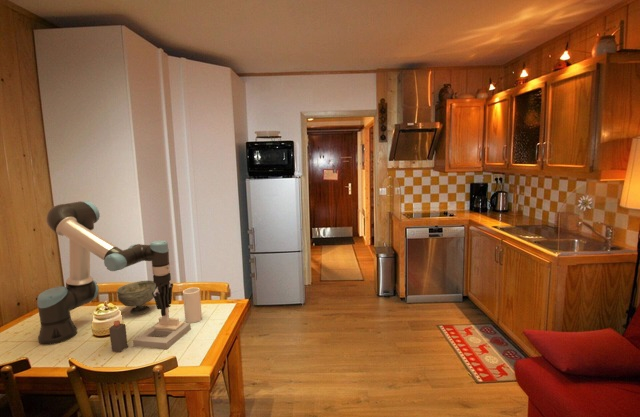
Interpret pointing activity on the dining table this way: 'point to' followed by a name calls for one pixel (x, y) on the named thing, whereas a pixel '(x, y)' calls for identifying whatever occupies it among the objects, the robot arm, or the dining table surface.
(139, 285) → the bowl
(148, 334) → the socket board
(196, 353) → the dining table surface
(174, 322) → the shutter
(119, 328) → the dark grey bottle
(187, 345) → the dining table surface
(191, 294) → the cup
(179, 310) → the dining table surface
